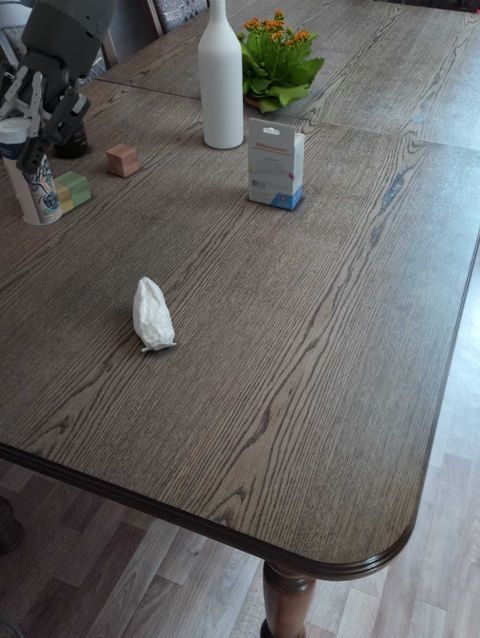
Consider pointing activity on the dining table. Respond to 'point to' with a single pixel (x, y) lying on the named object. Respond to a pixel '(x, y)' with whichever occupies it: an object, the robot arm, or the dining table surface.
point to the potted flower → (276, 63)
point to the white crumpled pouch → (152, 316)
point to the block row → (75, 186)
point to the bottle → (221, 81)
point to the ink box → (275, 163)
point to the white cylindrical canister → (28, 176)
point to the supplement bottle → (73, 143)
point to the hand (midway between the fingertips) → (10, 163)
